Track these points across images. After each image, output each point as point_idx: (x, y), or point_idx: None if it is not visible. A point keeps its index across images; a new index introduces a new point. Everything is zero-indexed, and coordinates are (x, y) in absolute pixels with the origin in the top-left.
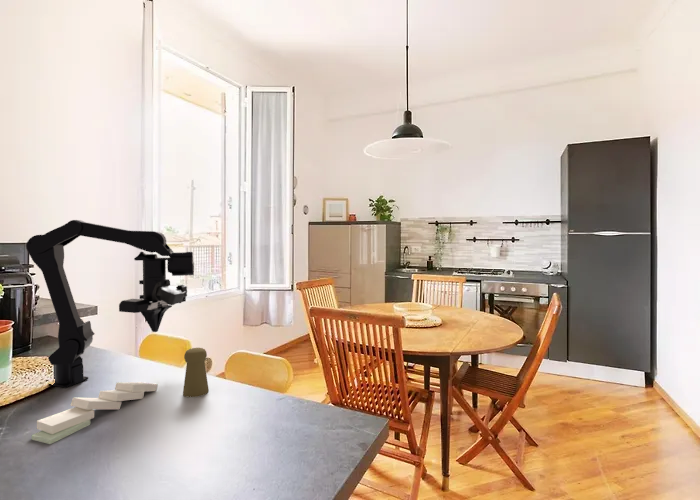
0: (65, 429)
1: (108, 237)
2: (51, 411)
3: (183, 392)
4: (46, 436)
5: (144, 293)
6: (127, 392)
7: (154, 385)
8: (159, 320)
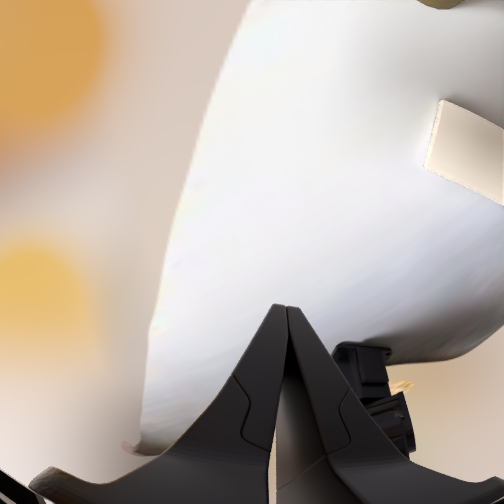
0: None
1: None
2: (500, 288)
3: (455, 5)
4: None
5: None
6: None
7: (458, 106)
8: (275, 377)
